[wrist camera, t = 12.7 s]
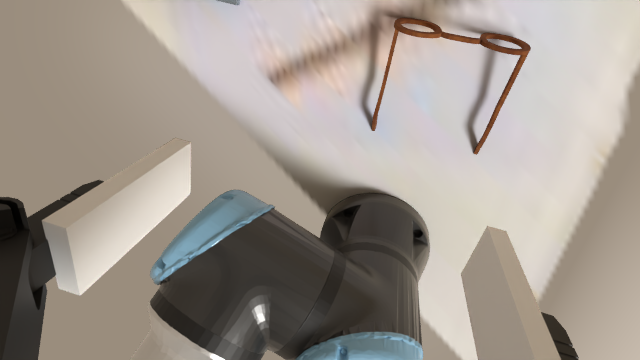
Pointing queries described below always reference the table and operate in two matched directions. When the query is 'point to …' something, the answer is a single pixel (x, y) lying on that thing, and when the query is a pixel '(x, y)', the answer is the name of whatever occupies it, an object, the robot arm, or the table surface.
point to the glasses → (482, 41)
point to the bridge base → (231, 1)
